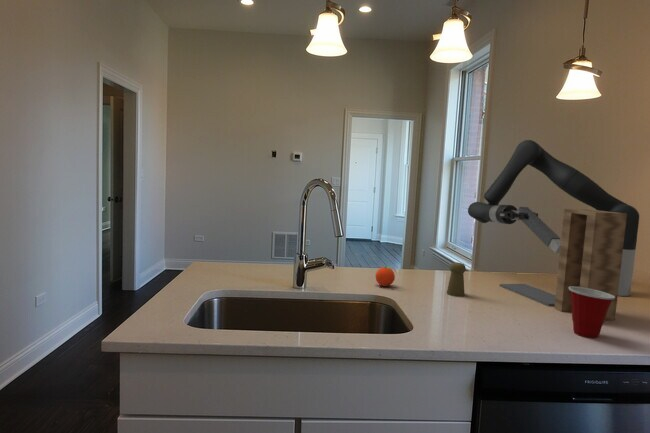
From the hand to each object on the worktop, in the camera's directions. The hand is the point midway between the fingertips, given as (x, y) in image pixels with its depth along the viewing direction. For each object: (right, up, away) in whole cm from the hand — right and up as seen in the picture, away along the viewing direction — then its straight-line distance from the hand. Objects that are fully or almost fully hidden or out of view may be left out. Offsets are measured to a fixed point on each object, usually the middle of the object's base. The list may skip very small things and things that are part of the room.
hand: (532, 216), depth 161 cm
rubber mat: (0, -28, -3) cm, 28 cm away
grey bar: (+1, -6, -3) cm, 7 cm away
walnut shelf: (+5, -30, -23) cm, 39 cm away
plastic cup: (-5, -32, -42) cm, 53 cm away
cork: (-30, -27, -7) cm, 41 cm away
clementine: (-53, -25, 0) cm, 59 cm away
